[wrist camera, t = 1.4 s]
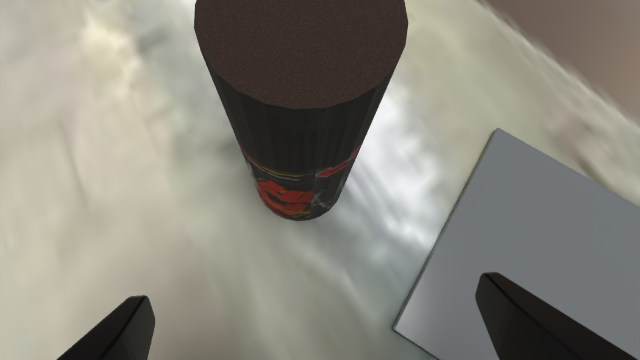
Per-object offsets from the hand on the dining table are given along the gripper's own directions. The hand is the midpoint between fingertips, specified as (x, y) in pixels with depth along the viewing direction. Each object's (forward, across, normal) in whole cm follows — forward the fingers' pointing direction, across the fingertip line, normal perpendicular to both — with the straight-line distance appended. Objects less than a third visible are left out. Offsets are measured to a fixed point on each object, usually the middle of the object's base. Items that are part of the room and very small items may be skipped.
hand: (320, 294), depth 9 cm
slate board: (+9, -16, +10) cm, 21 cm away
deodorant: (+15, 0, +4) cm, 15 cm away
